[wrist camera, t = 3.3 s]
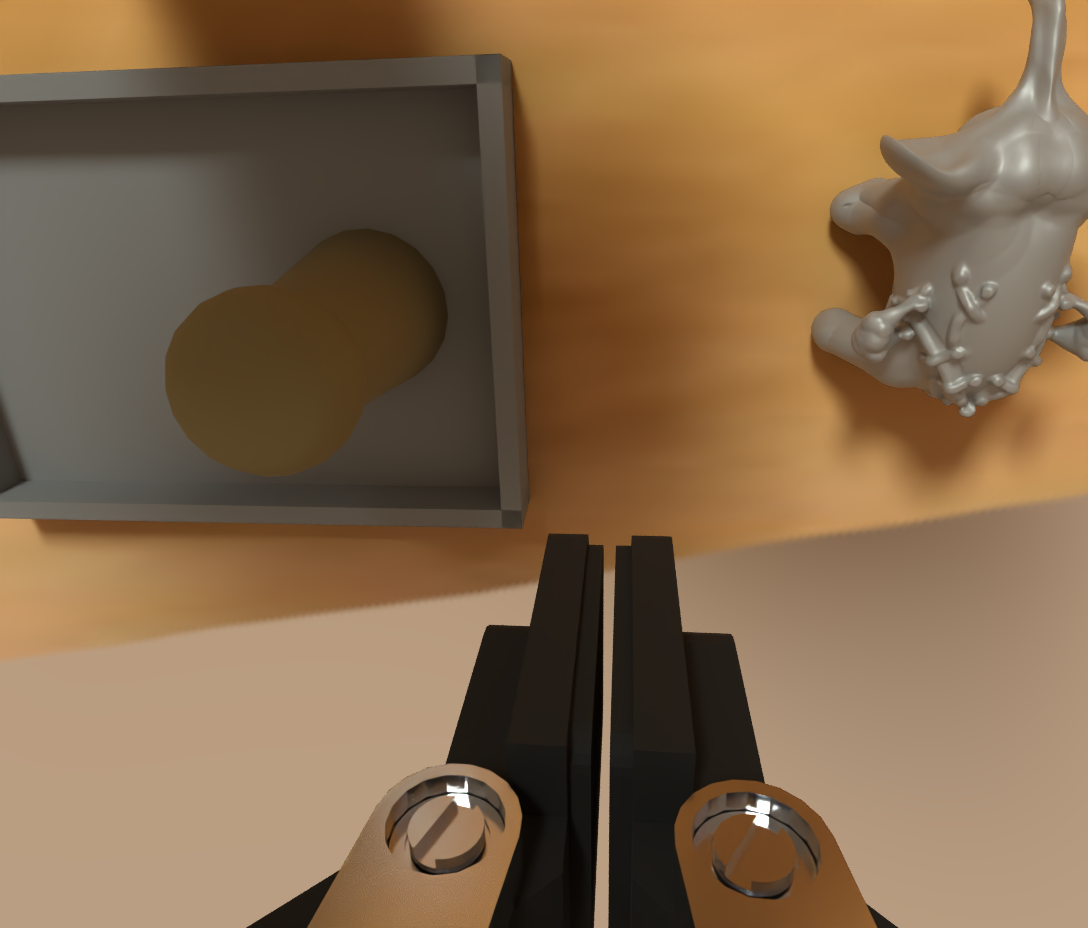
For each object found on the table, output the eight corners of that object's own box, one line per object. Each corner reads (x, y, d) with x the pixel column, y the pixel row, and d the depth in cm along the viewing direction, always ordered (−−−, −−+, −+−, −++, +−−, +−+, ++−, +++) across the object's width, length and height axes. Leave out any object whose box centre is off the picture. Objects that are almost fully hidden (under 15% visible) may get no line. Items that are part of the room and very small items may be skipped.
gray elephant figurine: (820, 393, 29) (887, 485, 23) (740, 71, 25) (795, 65, 18) (1074, 311, 27) (1234, 386, 21) (1041, -55, 23) (1234, -116, 16)
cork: (266, 318, 29) (83, 414, 19) (348, 192, 27) (190, 227, 17) (390, 414, 31) (279, 551, 21) (479, 300, 28) (403, 392, 18)
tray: (511, 60, 25) (500, 53, 23) (529, 500, 32) (522, 528, 30) (-123, 87, 28) (-189, 83, 25) (17, 492, 34) (-26, 517, 32)
